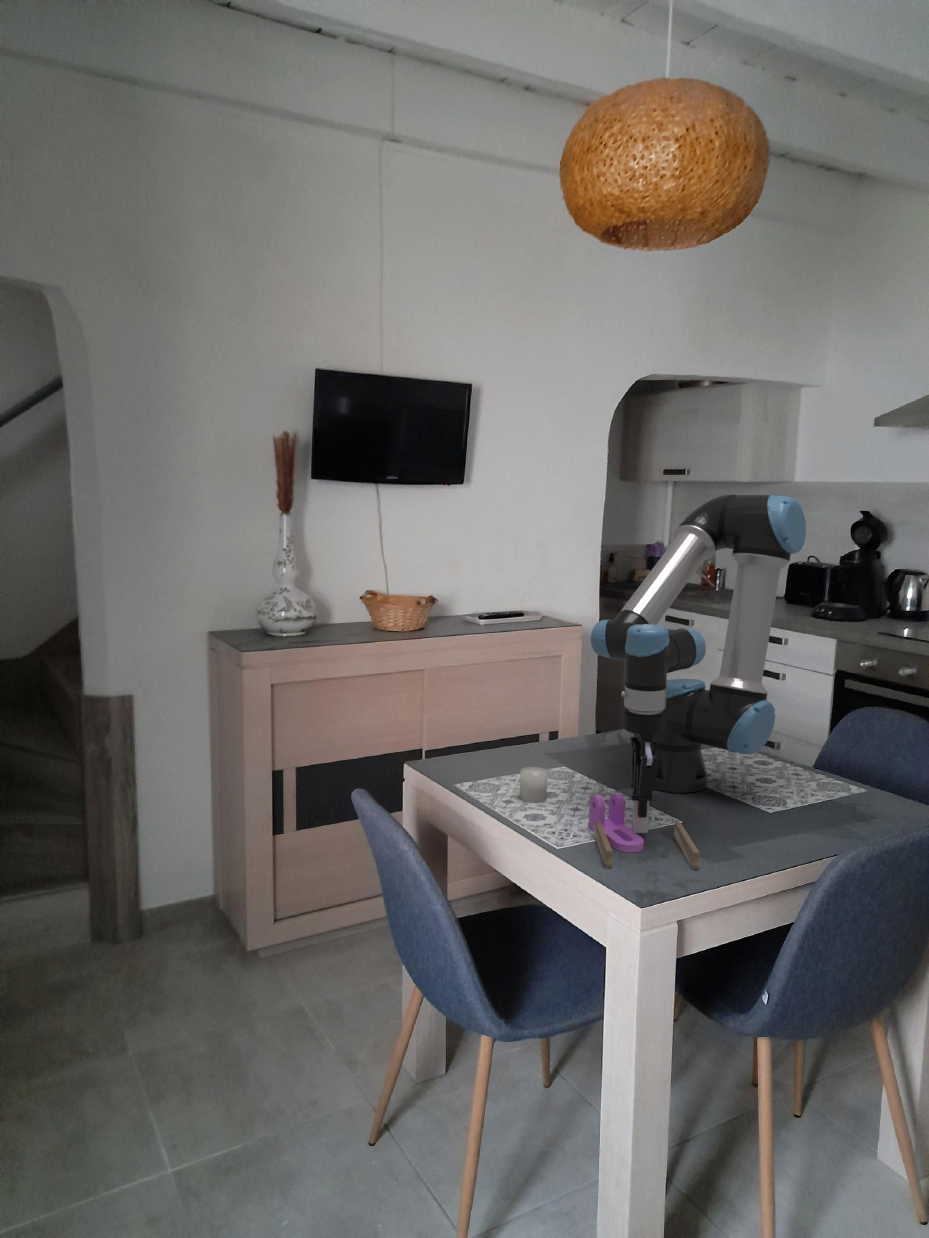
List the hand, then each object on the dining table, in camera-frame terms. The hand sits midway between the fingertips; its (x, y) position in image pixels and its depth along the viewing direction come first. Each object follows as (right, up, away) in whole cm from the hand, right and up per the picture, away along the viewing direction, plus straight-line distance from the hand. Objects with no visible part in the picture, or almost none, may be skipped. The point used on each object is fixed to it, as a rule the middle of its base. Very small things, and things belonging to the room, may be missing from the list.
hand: (640, 831), depth 166 cm
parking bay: (-1, -2, -7) cm, 7 cm away
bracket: (-4, -1, -1) cm, 5 cm away
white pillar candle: (-19, +2, +20) cm, 27 cm away
